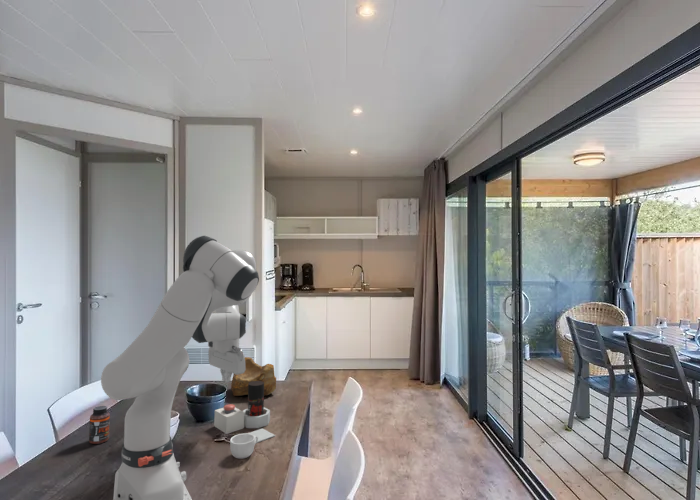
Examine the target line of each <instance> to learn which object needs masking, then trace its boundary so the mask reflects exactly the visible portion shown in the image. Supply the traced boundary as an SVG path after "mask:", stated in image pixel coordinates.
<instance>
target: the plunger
mask: <svg viewBox="0 0 700 500" xmlns="http://www.w3.org/2000/svg"><path fill="white" fill-rule="evenodd" d="M235 407H236V405H235V404H233V403H231V404H225V405H224V406H223V408H224V410H225V411H224V413H226V414H229V413H233V412H234V409H235Z"/></svg>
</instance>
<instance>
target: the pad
mask: <svg viewBox="0 0 700 500" xmlns="http://www.w3.org/2000/svg"><path fill="white" fill-rule="evenodd" d="M248 434H252V435H254V436H257V437H258V441H257V443H256V444H258V443H261V442H264V441H267V440H269V439H271V438H275V437H276V434H274V433H272V432H270V431H268V430H267V429H265V428H263V427H261V428H258V429H256V430H254V431H251V432H248ZM255 441H256V437H255Z"/></svg>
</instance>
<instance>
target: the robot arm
mask: <svg viewBox="0 0 700 500" xmlns="http://www.w3.org/2000/svg"><path fill="white" fill-rule="evenodd" d="M182 262H183V264H182V265H183V266H182V270H183V272H182V273H181V274H179V276H178V277H177V278H176V279H175V281H174V282H173V283H172V284H171V286H170V288H168V290H167V291H166V293H165V295H163V298H162V300H161V301H160V303H159V306H157V309H156V311H155V312H154V314H153V315H152V318H151V319H150V321H149V322H148V324H147V325H146V327H145V328H144V329H143V330H142V332H140V334H138V336H136V338H135V339H134V341H132V342H131V344H130V345H129V346H128V347H127V348H126V349H125V350H124V351H123V352H122V353H121V354H120V355H118V356H117V357H116V358H114V359H113V360H112V361H111V362H109V363H107V364H106V365H105V367H104V368H103V370H102V372H101V375H100V376H101V377H100V385H101V388H102V390H103V392H104V393H105V395H106V396H107V397H108V398H110V399H112V400H115V401H122V400H129V399H134V401H133V402H132V404H131V406H130V407H129V408H128V409H127V411H126V413H125V417H124V428H123V429H124V431H123V433H124V434H123V438H124V439H123V444H122V447H121V452H120V454H121V461H122V462H121V464H120V466H119V468H118V469H117V470H116V472H115V475H114V487H113V499H112V500H193V499H192V496H191V494H190V493H189V491H188V489H187V487H186V485H185V481H186V480H187V477H188V476H187V471H185V470H183V471H180V465H181V464H180V463H181V462H180V461H176V458H175V454H174V449H173V448H174V445H173V441H172V437H171V417H172V415H171V414H172V409H173V408H172V407H173V403H174V400H175V396H176V392H177V391H178V387H179V384H180V382H181V379H182V378H183V377H184V375H185V374H186V372H187V370H188V368H189V365H190V355H189V352H188V351H187V349H186V348H185V347H186V346H187V345H188V344H189V342H190V340H191V339H193V340H194V341H196V342H197V343H198V344H204V343H207V346H208V354H207V355H208V357H207V358H208V363H209V365H210V366H213V367H215V368H218V369H220V370H219V371H220V374H221V378H222V379H221V380H222V382H225V383H230V382H232V380H231V377H232V376H233V374H236V375H238V374H242V373H244V372H245V357H246V356H245V354H244V352H243V351H242V348H241V347H240V339H241V338H243V337H244V336H245V334H246V332H247V331H246V330H247V329H246V326H247V325H246V323H247V318H246V316H244V315H243V314H242V313H240V308H239V307H240V306H239V305H241V304H244V303H245V302H247V301H248V300H249V299H250V297H251V296H252V295H253V293H254V292H255V290H256V288H257V286H258V284H259V282H260V277H259V272H258V271H257V263H256V258H255V257H254V255H253V254H251V253H250V252H249V251H247V250H243V249H234V250H232V249H230V248H229V247H227V246H226V245H225V244H222V243H220V242H218V241H217V240H216V239H215V238H213V237H211V236H206V235H201V236H198V237H196V238H194V239H192V240H191V241H190V242H189V243H188V245H187V246H186V248H185V250H184V252H183V257H182ZM214 311H215V312H214ZM213 312H214V313H213Z"/></svg>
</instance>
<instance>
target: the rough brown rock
mask: <svg viewBox="0 0 700 500" xmlns="http://www.w3.org/2000/svg"><path fill="white" fill-rule="evenodd" d="M252 381H262V382H264V396H268V395H271V394H272V393H274V392H275V390H276V389H277V377H276V375H275V367H274V365H273V364H271V363H266V364H264V365H260V364H258V363H256V362H255V361H254V359H253V358H252V357H247V356H245V372H244V373H242V374H238V375H236V374H233V373H232V380H231V384H230V388H231V389H230V390H231V391H232V396H234V397H241V396H246V395H247V396H248V383H249V382H252Z"/></svg>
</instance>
